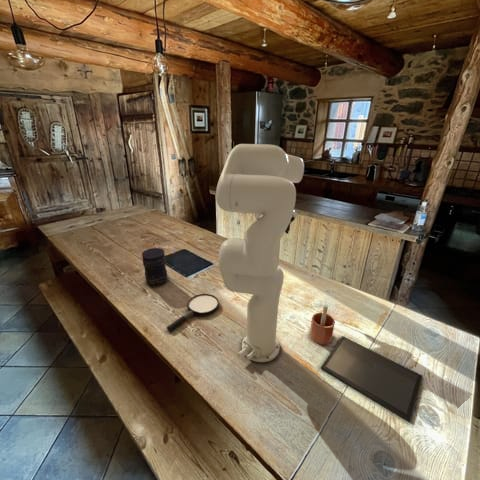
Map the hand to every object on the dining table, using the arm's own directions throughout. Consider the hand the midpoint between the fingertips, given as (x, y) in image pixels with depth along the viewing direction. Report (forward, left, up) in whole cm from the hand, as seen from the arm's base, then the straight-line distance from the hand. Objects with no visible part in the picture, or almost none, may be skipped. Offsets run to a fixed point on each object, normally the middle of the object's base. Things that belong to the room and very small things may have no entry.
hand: (274, 233), depth 107 cm
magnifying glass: (-33, +14, -28) cm, 46 cm away
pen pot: (-11, -29, -28) cm, 42 cm away
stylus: (-11, -29, -28) cm, 41 cm away
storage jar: (-29, +45, -28) cm, 61 cm away
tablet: (-15, -47, -28) cm, 57 cm away
